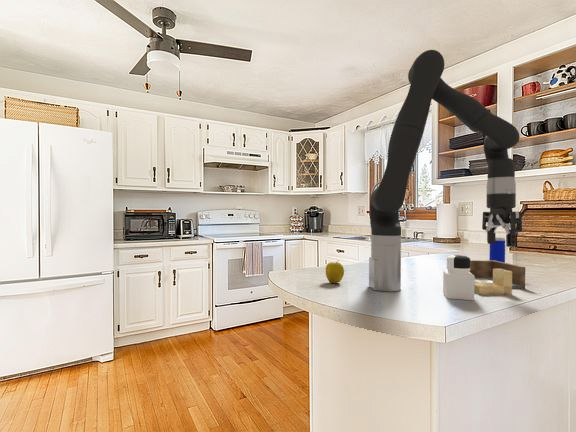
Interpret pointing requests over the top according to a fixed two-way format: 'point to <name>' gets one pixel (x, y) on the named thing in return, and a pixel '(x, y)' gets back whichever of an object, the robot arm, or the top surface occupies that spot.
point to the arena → (485, 268)
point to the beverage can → (498, 250)
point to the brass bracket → (496, 284)
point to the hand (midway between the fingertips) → (500, 245)
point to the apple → (334, 272)
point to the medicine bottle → (458, 278)
